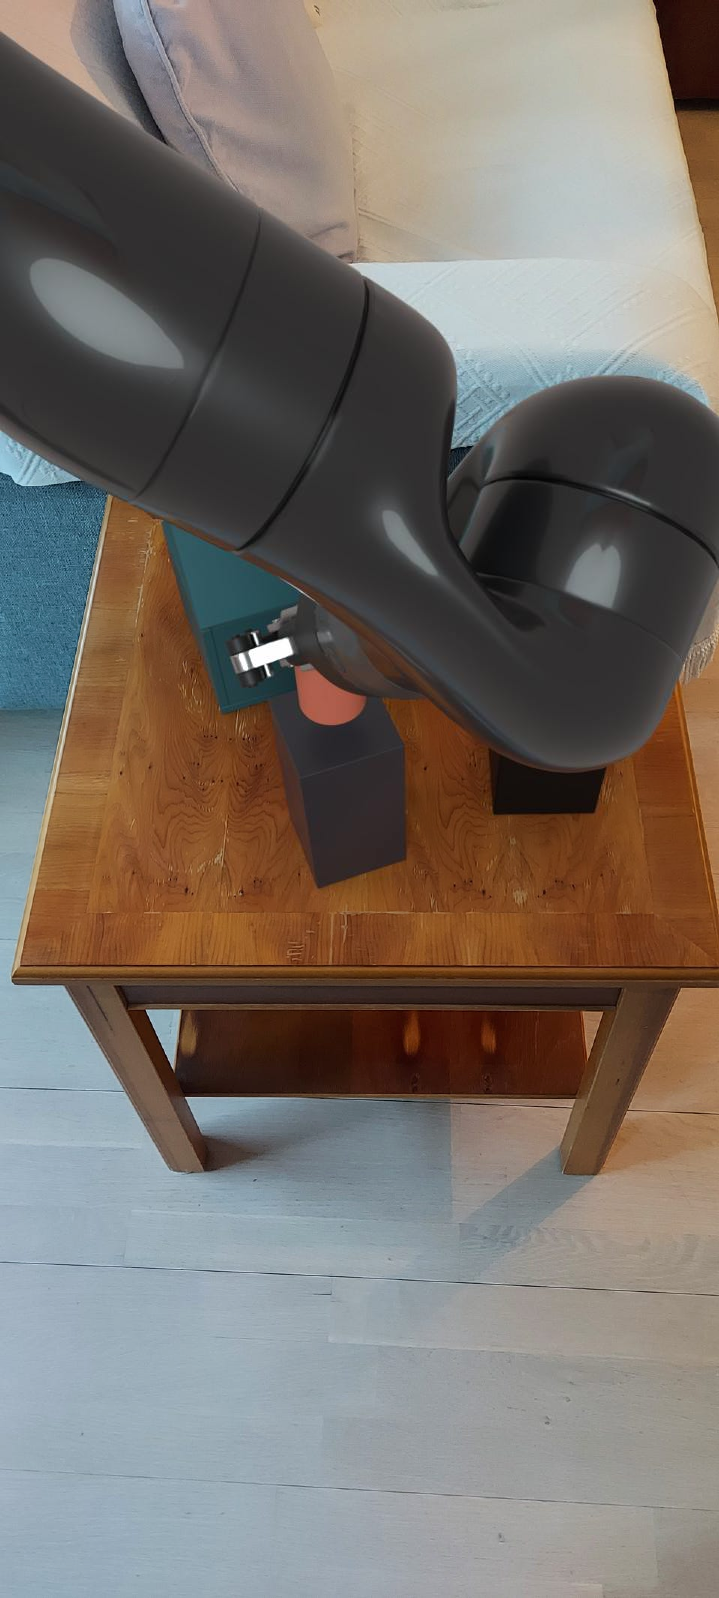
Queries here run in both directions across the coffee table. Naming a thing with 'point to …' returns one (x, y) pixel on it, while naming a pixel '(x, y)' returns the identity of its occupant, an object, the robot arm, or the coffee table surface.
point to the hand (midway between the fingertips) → (314, 629)
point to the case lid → (227, 582)
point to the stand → (343, 788)
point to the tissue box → (541, 789)
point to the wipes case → (217, 653)
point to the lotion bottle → (326, 699)
